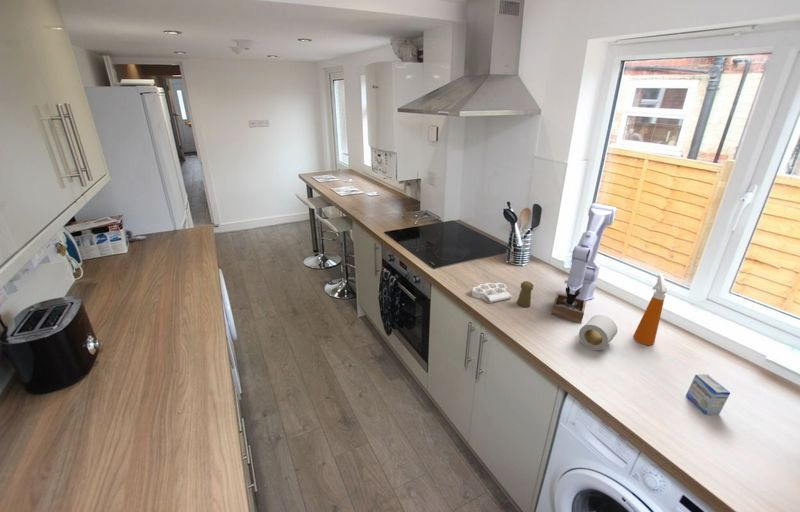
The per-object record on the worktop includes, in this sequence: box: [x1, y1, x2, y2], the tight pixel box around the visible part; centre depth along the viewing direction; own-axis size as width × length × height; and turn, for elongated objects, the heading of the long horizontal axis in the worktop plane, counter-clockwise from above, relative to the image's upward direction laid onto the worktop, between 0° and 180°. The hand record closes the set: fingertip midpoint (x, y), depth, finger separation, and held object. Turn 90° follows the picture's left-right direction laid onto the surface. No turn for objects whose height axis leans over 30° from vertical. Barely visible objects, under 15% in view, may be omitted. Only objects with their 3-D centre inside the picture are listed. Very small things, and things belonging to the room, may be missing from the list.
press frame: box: [550, 293, 587, 324], centre depth 158 cm, size 12×12×5 cm
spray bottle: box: [632, 273, 668, 346], centre depth 139 cm, size 7×11×26 cm, turn 161°
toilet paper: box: [578, 314, 618, 351], centre depth 138 cm, size 10×10×10 cm
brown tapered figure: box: [516, 280, 534, 309], centre depth 162 cm, size 6×6×11 cm
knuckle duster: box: [471, 282, 512, 304], centre depth 172 cm, size 3×18×15 cm
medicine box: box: [685, 373, 731, 416], centre depth 110 cm, size 8×4×9 cm, turn 5°
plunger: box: [557, 299, 581, 311], centre depth 158 cm, size 9×9×6 cm
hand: (570, 302), depth 157 cm, fingers closed on plunger, 3 cm apart
